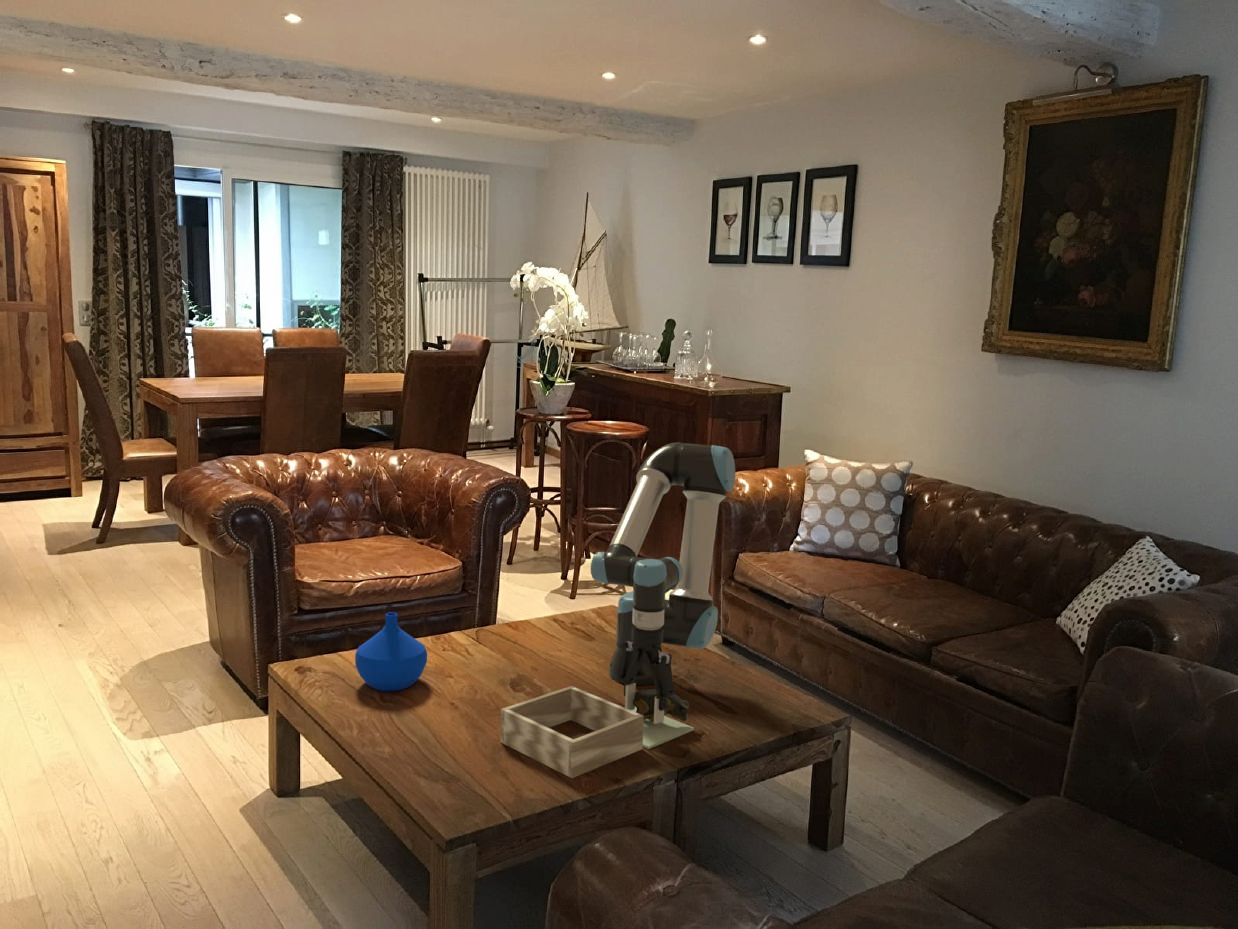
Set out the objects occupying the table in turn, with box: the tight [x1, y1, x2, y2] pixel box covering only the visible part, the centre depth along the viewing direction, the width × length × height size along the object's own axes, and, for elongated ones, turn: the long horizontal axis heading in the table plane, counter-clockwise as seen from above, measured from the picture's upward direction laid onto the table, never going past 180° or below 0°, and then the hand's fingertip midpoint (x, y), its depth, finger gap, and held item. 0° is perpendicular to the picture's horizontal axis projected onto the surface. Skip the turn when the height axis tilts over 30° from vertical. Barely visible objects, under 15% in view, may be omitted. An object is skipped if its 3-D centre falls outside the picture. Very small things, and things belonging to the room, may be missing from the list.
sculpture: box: [633, 688, 690, 722], centre depth 245 cm, size 13×6×7 cm, turn 85°
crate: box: [500, 685, 644, 779], centre depth 233 cm, size 24×22×8 cm
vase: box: [354, 611, 428, 692], centre depth 265 cm, size 18×18×19 cm
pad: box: [631, 707, 695, 750], centre depth 245 cm, size 18×16×1 cm
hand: (644, 716), depth 245 cm, fingers closed on sculpture, 9 cm apart
